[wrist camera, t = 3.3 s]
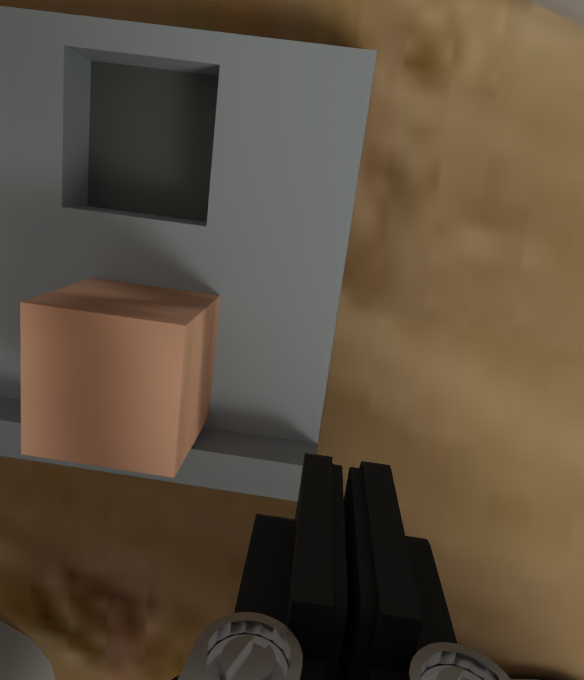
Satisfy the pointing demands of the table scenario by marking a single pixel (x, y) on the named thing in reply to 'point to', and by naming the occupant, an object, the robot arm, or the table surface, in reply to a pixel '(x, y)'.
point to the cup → (22, 657)
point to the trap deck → (187, 210)
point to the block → (116, 374)
